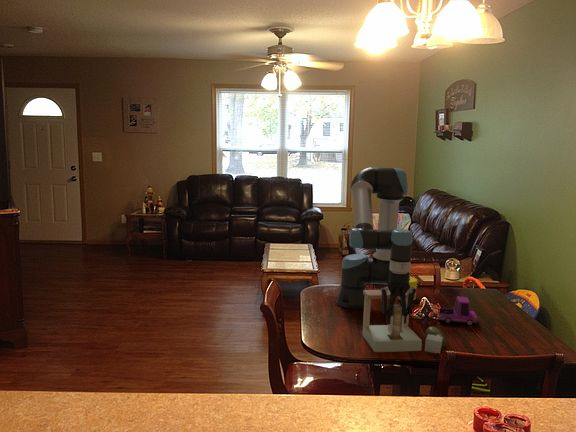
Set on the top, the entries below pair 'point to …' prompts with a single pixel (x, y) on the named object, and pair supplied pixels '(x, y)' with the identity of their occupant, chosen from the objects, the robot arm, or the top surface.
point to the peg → (396, 322)
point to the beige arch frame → (377, 295)
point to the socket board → (382, 343)
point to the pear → (435, 333)
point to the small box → (433, 343)
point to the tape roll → (413, 283)
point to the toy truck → (458, 312)
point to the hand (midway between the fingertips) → (395, 331)
